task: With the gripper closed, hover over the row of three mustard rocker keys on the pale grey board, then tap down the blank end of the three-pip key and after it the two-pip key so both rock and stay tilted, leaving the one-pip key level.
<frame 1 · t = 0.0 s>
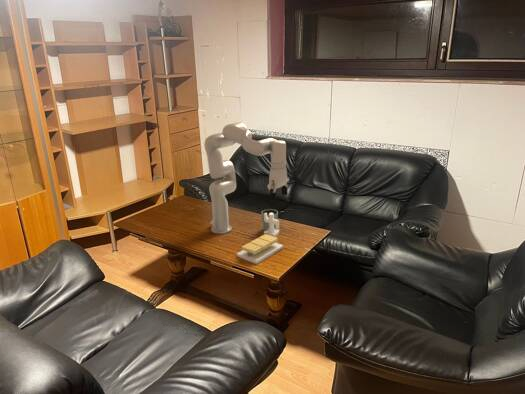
hand: (278, 197, 204), 31 cm above the table, fingers open, 9 cm apart
board: (260, 251, 213), on the table
key 3: (251, 248, 207), point 5 cm above the table, hinge at 0.0°
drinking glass: (269, 230, 240), on the table
figurine: (271, 237, 231), on the table
key 1: (268, 239, 217), point 5 cm above the table, hinge at 0.0°
key 2: (260, 243, 212), point 5 cm above the table, hinge at 0.0°
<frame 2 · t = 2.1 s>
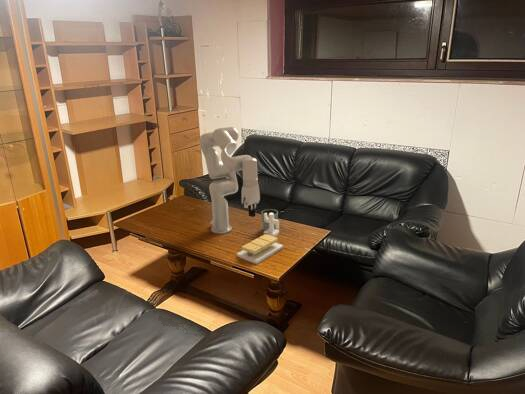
hand: (252, 215, 204), 22 cm above the table, fingers closed
nothing on the table moved.
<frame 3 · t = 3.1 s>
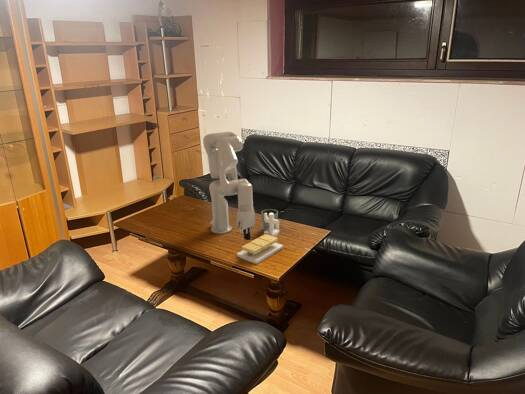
hand: (247, 239, 207), 10 cm above the table, fingers closed
nothing on the table moved.
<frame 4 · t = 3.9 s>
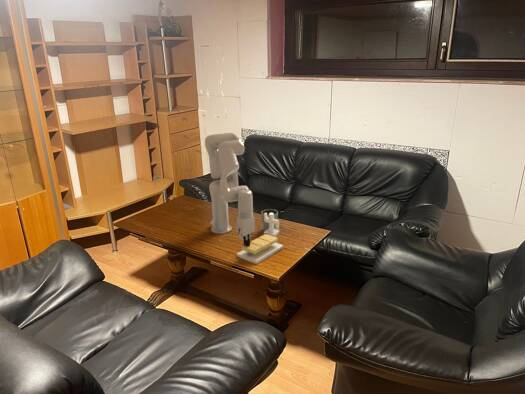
hand: (247, 245, 208), 6 cm above the table, fingers closed
key 3: (251, 248, 207), point 5 cm above the table, hinge at 3.2°, touching gripper
everything else where it was.
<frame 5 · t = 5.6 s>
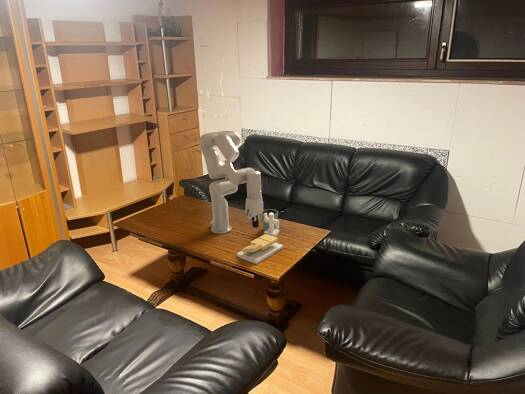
hand: (255, 226, 210), 14 cm above the table, fingers closed
key 3: (251, 248, 207), point 5 cm above the table, hinge at 20.6°
everything else where it was.
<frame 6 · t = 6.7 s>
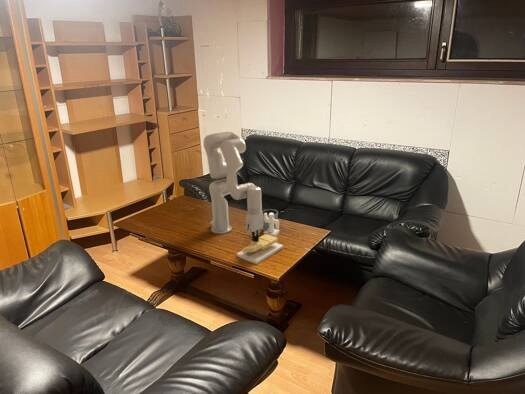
hand: (255, 240, 213), 6 cm above the table, fingers closed
key 3: (251, 248, 207), point 5 cm above the table, hinge at 21.3°
key 2: (260, 243, 212), point 5 cm above the table, hinge at 2.1°, touching gripper
everything else where it was.
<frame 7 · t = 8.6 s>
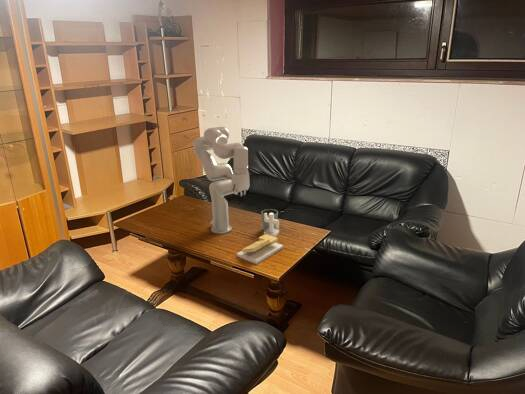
hand: (241, 202, 212), 26 cm above the table, fingers closed
key 2: (260, 243, 212), point 5 cm above the table, hinge at 22.4°
everything else where it was.
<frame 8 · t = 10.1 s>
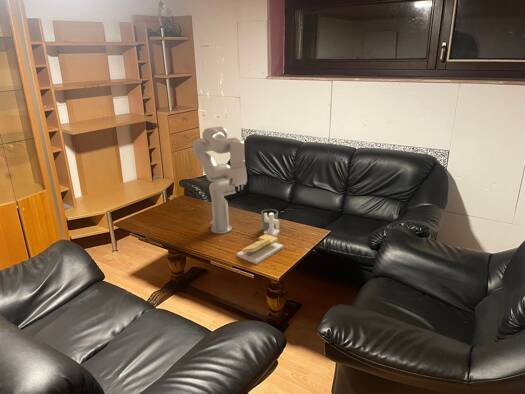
hand: (239, 196, 212), 29 cm above the table, fingers closed
key 2: (260, 243, 212), point 5 cm above the table, hinge at 22.9°
everything else where it was.
at the end: key 3 at +21° (first picture: +0°); key 2 at +23° (first picture: +0°); key 1 at +0° (first picture: +0°) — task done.
